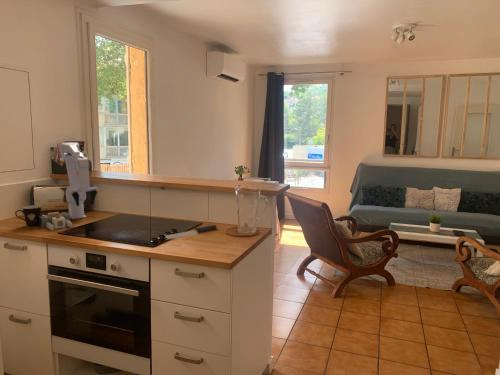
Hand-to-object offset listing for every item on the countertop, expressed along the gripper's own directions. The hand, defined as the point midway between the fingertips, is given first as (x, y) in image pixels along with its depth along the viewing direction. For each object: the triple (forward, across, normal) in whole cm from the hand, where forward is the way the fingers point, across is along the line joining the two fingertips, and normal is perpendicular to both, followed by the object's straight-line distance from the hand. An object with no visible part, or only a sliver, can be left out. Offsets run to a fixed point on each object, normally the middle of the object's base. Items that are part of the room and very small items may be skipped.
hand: (85, 205), depth 209 cm
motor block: (+10, -14, +7) cm, 19 cm away
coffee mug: (+10, -24, +14) cm, 30 cm away
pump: (+10, -14, 0) cm, 17 cm away
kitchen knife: (+10, +31, -58) cm, 67 cm away
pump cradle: (+10, -14, 0) cm, 17 cm away
